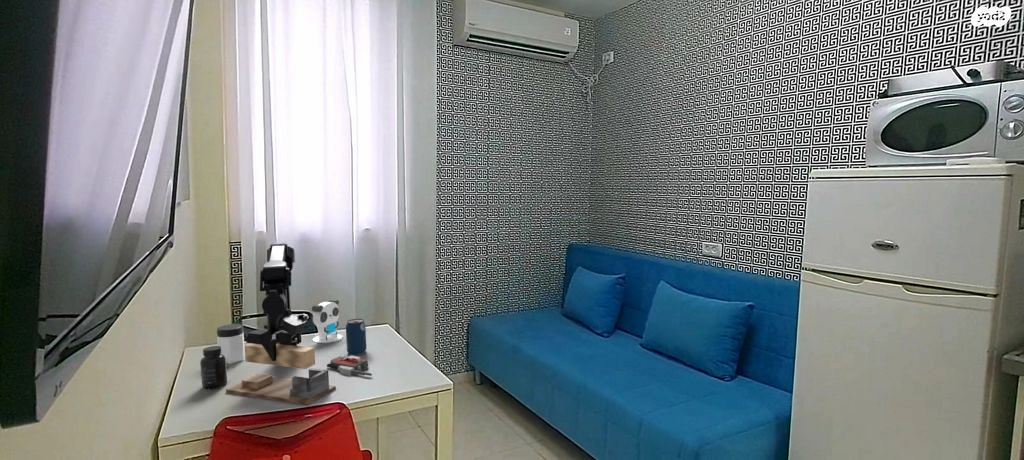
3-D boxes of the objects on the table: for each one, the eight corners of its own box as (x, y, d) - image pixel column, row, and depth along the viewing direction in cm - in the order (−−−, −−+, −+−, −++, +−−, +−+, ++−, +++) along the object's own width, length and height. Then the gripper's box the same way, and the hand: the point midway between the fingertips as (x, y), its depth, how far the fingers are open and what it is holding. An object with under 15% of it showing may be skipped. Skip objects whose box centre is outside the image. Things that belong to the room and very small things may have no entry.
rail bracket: (226, 392, 153) (224, 371, 153) (258, 378, 165) (256, 358, 164) (307, 405, 144) (306, 382, 143) (335, 389, 155) (334, 368, 154)
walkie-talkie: (321, 371, 171) (369, 380, 163) (321, 358, 171) (368, 366, 163) (340, 363, 179) (387, 371, 171) (340, 350, 179) (386, 358, 170)
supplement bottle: (208, 382, 162) (206, 344, 161) (231, 381, 162) (229, 344, 161) (197, 390, 155) (194, 351, 154) (221, 389, 156) (218, 351, 155)
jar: (220, 357, 185) (218, 325, 184) (245, 354, 188) (244, 322, 187) (217, 365, 177) (214, 331, 176) (243, 362, 180) (241, 328, 179)
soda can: (370, 351, 190) (369, 319, 189) (355, 357, 184) (354, 324, 183) (357, 348, 194) (356, 317, 193) (342, 353, 188) (341, 321, 187)
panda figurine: (328, 344, 199) (326, 306, 198) (305, 341, 203) (303, 304, 202) (348, 336, 210) (347, 300, 209) (326, 333, 214) (324, 298, 213)
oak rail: (245, 361, 155) (244, 345, 154) (255, 357, 159) (254, 341, 158) (305, 368, 148) (305, 352, 148) (315, 364, 152) (314, 347, 151)
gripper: (274, 317, 140) (277, 372, 142) (320, 301, 158) (322, 351, 159) (242, 314, 144) (246, 368, 146) (291, 299, 162) (294, 347, 163)
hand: (279, 358), depth 153 cm, fingers closed on oak rail, 4 cm apart
